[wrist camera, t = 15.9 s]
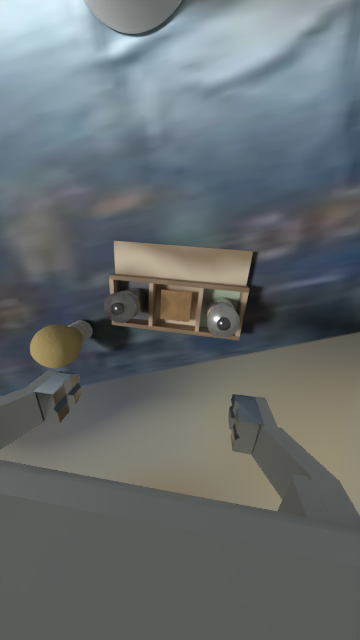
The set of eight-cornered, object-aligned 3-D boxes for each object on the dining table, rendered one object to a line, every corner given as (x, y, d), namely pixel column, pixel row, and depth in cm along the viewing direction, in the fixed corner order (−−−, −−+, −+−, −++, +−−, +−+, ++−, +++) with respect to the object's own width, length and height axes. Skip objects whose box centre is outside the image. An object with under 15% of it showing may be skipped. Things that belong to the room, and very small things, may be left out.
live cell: (208, 295, 28) (209, 307, 22) (235, 298, 27) (244, 310, 21) (205, 320, 29) (205, 337, 23) (230, 323, 29) (237, 341, 23)
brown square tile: (162, 288, 28) (161, 289, 27) (192, 291, 28) (192, 292, 27) (161, 316, 30) (160, 318, 29) (189, 320, 29) (189, 322, 28)
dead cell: (129, 283, 29) (107, 287, 23) (151, 295, 29) (136, 303, 23) (120, 305, 30) (97, 315, 24) (142, 316, 30) (124, 329, 24)
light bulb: (76, 305, 33) (24, 325, 24) (106, 325, 33) (68, 352, 24) (64, 331, 35) (13, 360, 26) (93, 349, 36) (53, 383, 26)
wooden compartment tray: (117, 241, 28) (106, 239, 25) (251, 251, 26) (257, 251, 23) (120, 320, 33) (111, 327, 30) (234, 334, 31) (238, 343, 28)
